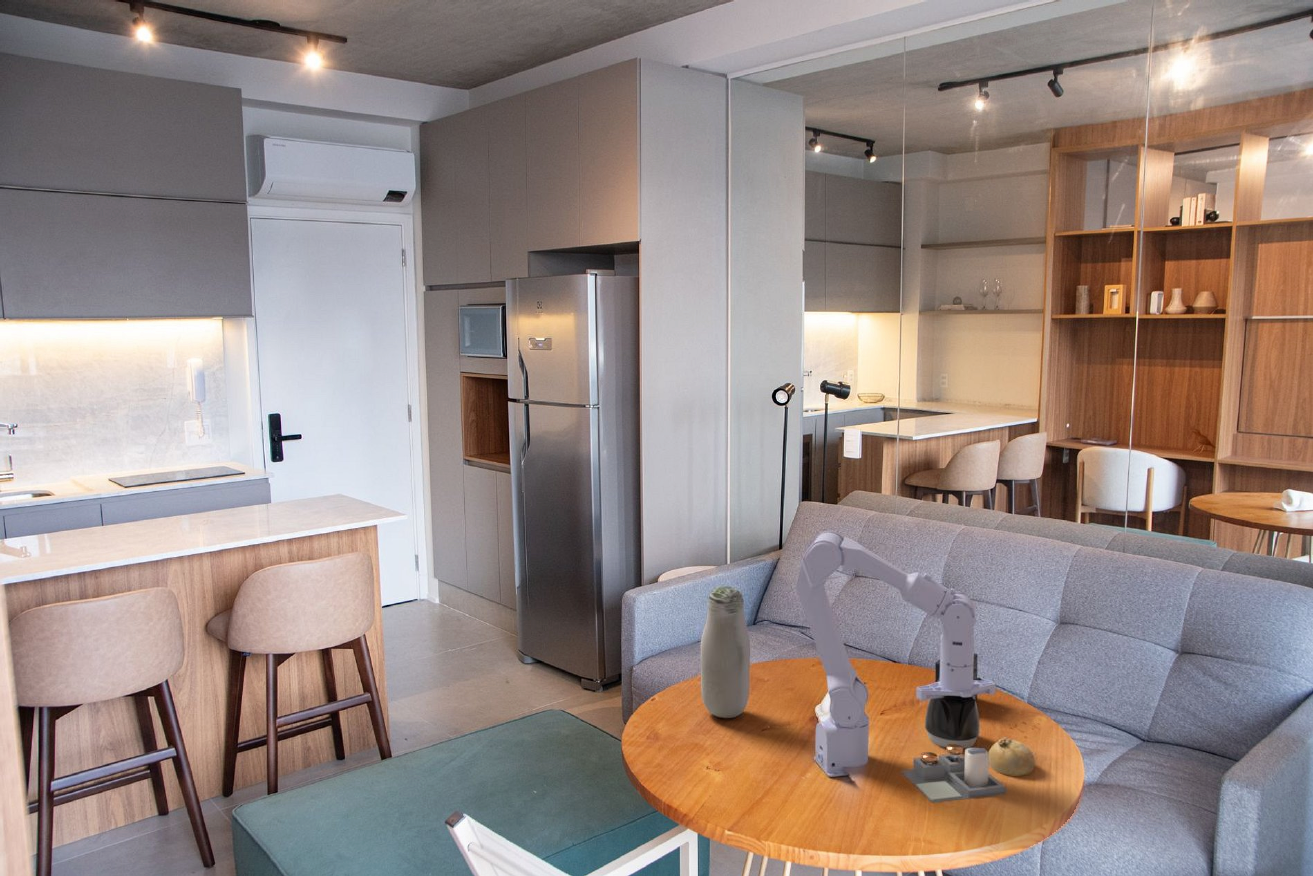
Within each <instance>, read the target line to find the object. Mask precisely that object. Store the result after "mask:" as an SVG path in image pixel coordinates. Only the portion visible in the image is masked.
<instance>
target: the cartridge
mask: <svg viewBox="0 0 1313 876" xmlns="http://www.w3.org/2000/svg"><path fill="white" fill-rule="evenodd" d="M964 758H965V772H964V783H965V784H966V785H967V786H968V787H969V788H979V787H987V786H988V775H989V774H990V773H989V771H990V770H989V768H990V765H989V750H988V751H987V749H986V748H985V747H981V748H980V747H970V748H966V749H964Z"/></svg>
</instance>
